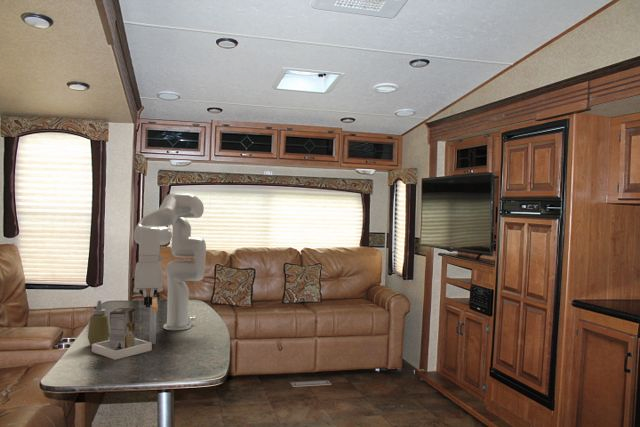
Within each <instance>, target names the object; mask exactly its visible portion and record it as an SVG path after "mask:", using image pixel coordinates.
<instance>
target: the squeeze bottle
mask: <svg viewBox="0 0 640 427" xmlns="http://www.w3.org/2000/svg"><path fill="white" fill-rule="evenodd" d="M106 312H107V311H106V308H103V303H102V300H97V303H96V307H95V308H94V309H93V310H92V315H91V316H90V317H89V323H88V325H89V326H88V330H87V332H88V333H87V339H88V341H89V344H90V346H91V347H92V344H94V343H98V342H103V341H108V340H109V333H110V323H109V316H108V314H106Z"/></svg>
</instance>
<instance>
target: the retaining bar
mask: <svg viewBox="0 0 640 427" xmlns="http://www.w3.org/2000/svg"><path fill="white" fill-rule="evenodd" d="M158 301H159V298H158V297H154V296H153V297H152V311H156V312H158V311H159V305H158Z"/></svg>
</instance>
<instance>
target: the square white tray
mask: <svg viewBox="0 0 640 427" xmlns="http://www.w3.org/2000/svg"><path fill="white" fill-rule="evenodd" d="M149 312H150V313H149V341H147V340H143V339H140V338H136V337H134V346H133V347H129V348H125V349H121V350H117V351H116V350H113V349H109V339H108V341H103V342H98V343H94V344H92V346H91V352H92V353H95V354H97V355H101V356H104V357H106V358H108V359H109V358H110V359H112V360H115V361H116V360H120V359H123V358H127V357H131V356H134V355H139V354H143V353H147V352H151V351H152V346H153V345H155V344H156V342H157V341H156V340H157V339H156V338H157V311H152V305H150V310H149Z"/></svg>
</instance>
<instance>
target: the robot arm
mask: <svg viewBox="0 0 640 427" xmlns="http://www.w3.org/2000/svg"><path fill="white" fill-rule="evenodd" d="M204 210H205V209H204V203H203V201H202V200H201V199H200V198H199V197H198V196H196V195H195V194H192V193H176V192H175V193H169V194H167V195H165V198H164V199H163V201H162V202H161V204H160V206H159V208H158V209H157V210H155V211H153V212H150V213H149V214H147V215H145V216H143V217H142V218H141V219H140V220H139V221H138V223H137V224H136V226H135V228H134V232H133V240H134V241H135V243H136V244H138V262H136V264H135V270H134V287H133V292H134V293H138V294H141V295H142V297H143V306H145V308H146V309H147V308H150V305H152V297H154V296H155V295H156V294H157V293H160V292H163V291H164V288H163V282H164V281H163V278H164V277H163V265H162V262H160V261H162V260H164V256H163V255H161V252H160V251H161V250H160V249H161V246H166V245H168V244H169V243H170V242H171V244H170V245H171V247H170V250H171V255H172V256H174V257H175V258H176V257H177V258H194V260H190V259H188V260H187V259H174V260H171V261H169V262H168V263H167V264H166V268H165V271H166V280H167V305H166V306H167V309H166V310H167V312H166V314H167V315H166V317H167V318H166V319H167V320H166V323H164V324H163V329H165V330H167V331H183V330H185V331H186V330H189V329H191V328H192V323H191V322H193V321H195V322H196V320H197V317H196V316H189V306H190V305H189V302H190V301H189V298H190V294H189V292H190V289H189V287H188V285H187V284H186V282H185V281H187V282H189V281H191V282H200V281H202V280H203V279H204V277H205V272H206V256H207V244H206V241H205V239H204V238H201V237H192V234H191V233H192V226H191V224H190V223H189V221H188V220H187V219H192V218H193V219H198V218H201V217H202V216H203V214H204ZM168 226H171V227H172V228H171V229H172V230H171V229H170V228H169V227H168ZM147 290H150V291H149V294H147Z"/></svg>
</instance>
